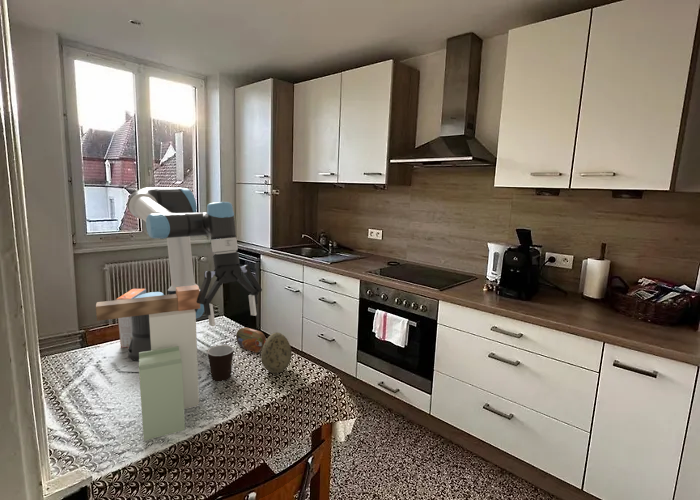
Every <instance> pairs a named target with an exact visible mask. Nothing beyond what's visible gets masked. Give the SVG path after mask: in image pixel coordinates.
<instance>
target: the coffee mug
mask: <svg viewBox="0 0 700 500" xmlns="http://www.w3.org/2000/svg"><path fill="white" fill-rule="evenodd" d="M234 350H235V349H234V346H231V345H228V344H219V345H215V346H212V347H210V348H209V349H208V350H207V351H206V353H207V358H208V365H209V369H210V370H209V371H210V376H211V380H212V381H214V382H218V383H220V382H224V381H227V380H229V379H231V377H232V370H233V369H232V367H233V359H234Z"/></svg>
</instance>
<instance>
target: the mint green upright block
mask: <svg viewBox="0 0 700 500" xmlns="http://www.w3.org/2000/svg"><path fill="white" fill-rule="evenodd" d="M138 375H139V376H138V377H139V391H140V392H139V393H140V405H141V421H142V433H143V435H142V436H143V441H144V442H145V441H148V440H152V439H156V438H159V437H160V438H161V437H164V436H167V435H171V434H175V433H180V432H183V431H185V430H186V425H185V409H184V400H183V379H182V359H181V357H180V352H179V346H176V347H170V348H164V349H158V350H151V351H145V352H139V361H138Z"/></svg>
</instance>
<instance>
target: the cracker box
mask: <svg viewBox="0 0 700 500" xmlns="http://www.w3.org/2000/svg"><path fill="white" fill-rule="evenodd" d="M145 293H147V289H146V288H132V289H130V290H128V291H127V292H126V293H123V294H122V295H121V296H119V297H117V298H116V299H115V300H123V299H133V298H135V297H137V296H139V295H142V294H145ZM117 321H118V331H119V342H120V348H123V349H125V348H128V349H129V346H130V342H131V339H132V326H131V317H124V318H117Z"/></svg>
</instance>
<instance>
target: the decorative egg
mask: <svg viewBox="0 0 700 500" xmlns="http://www.w3.org/2000/svg"><path fill="white" fill-rule="evenodd" d="M260 352H261V353H260V355H261V357H260V358H261V359H260V360H261V364H262V366H263V367H264V369H265V370H266V371H267V372H270V373H272V374H279V373H282V372H283V371H285V370H286V369H287V368H288V367H289V366H290V364H291V360H292V355H293V354H292V347H291V345H290V342H289V340H288V339H287V337H286V336H285V335H284V334H282V333H281V332H273V333H271V334H270V335H269V336H268V337H267V338H266V341H265V343H264V345H263V348H262V351H260Z"/></svg>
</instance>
